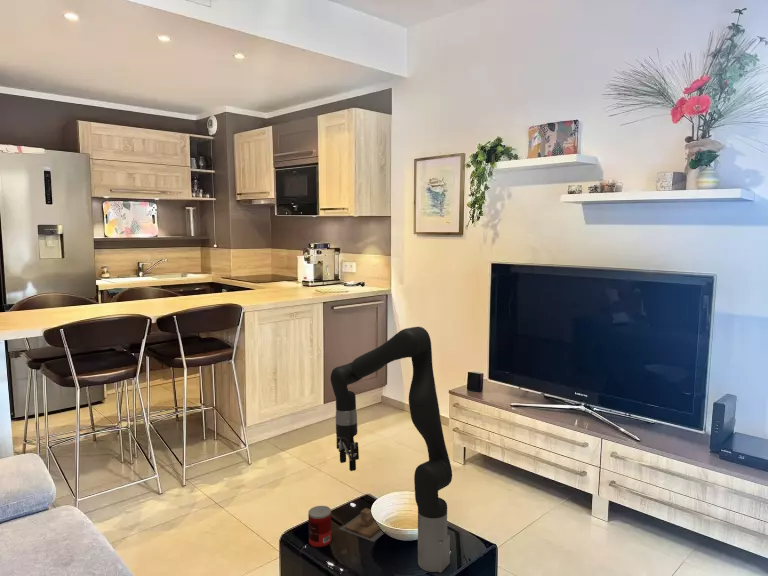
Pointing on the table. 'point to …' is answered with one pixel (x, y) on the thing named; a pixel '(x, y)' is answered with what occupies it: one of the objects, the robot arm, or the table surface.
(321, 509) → the canned food
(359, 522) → the lid
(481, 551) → the table surface
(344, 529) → the mat
